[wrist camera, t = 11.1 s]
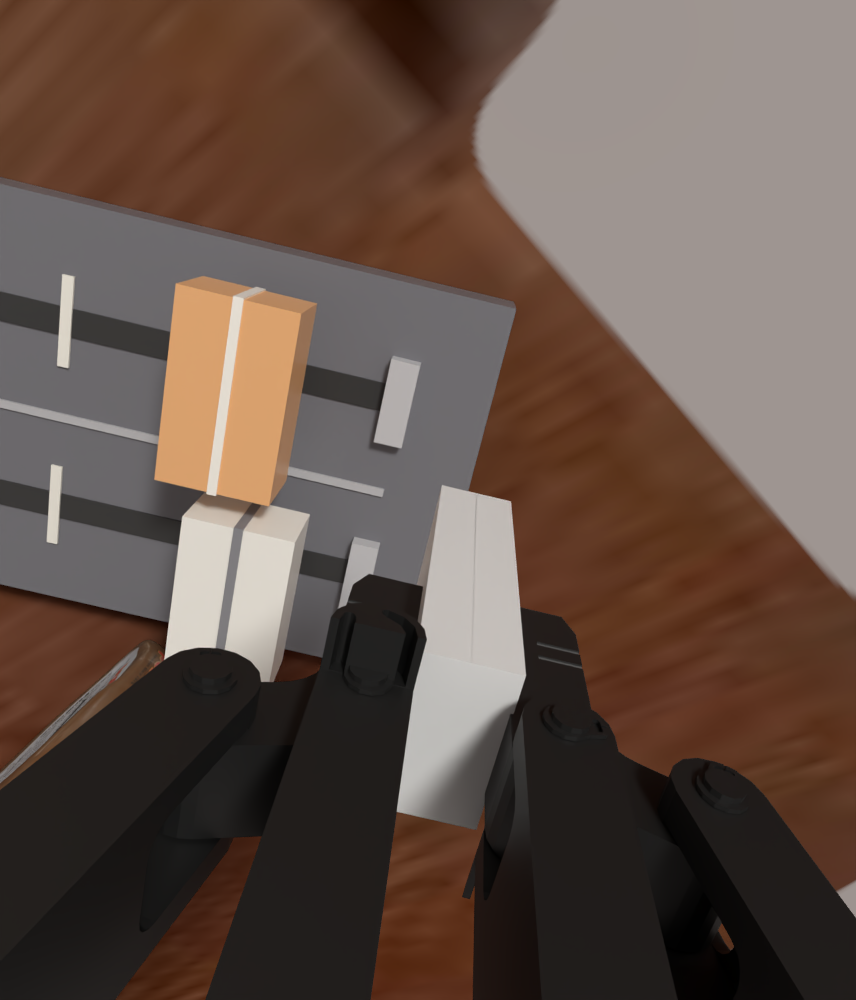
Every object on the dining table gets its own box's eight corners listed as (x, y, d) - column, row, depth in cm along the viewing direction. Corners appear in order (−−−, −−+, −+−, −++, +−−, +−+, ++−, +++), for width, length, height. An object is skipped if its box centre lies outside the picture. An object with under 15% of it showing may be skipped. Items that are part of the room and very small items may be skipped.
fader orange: (200, 440, 28) (153, 481, 24) (222, 268, 26) (175, 282, 22) (298, 463, 29) (268, 508, 24) (328, 294, 26) (301, 312, 22)
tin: (20, 822, 38) (-97, 982, 31) (-32, 781, 38) (-166, 935, 30) (225, 644, 34) (150, 777, 26) (170, 595, 34) (77, 717, 26)
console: (-283, 491, 33) (-343, 514, 30) (-324, 98, 28) (-402, 88, 25) (421, 652, 34) (417, 688, 31) (513, 301, 28) (517, 311, 26)
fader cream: (203, 613, 31) (161, 677, 27) (224, 470, 29) (181, 515, 25) (293, 634, 31) (265, 701, 27) (320, 492, 29) (294, 541, 25)
